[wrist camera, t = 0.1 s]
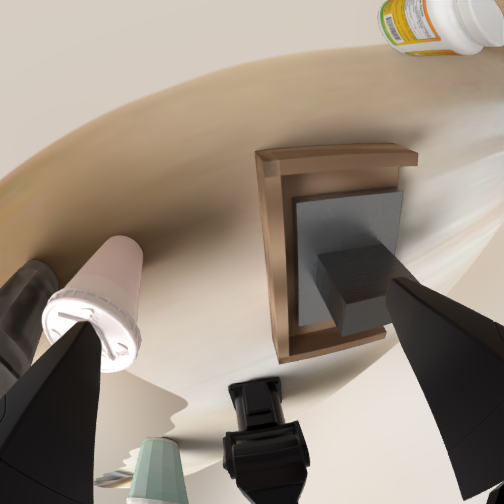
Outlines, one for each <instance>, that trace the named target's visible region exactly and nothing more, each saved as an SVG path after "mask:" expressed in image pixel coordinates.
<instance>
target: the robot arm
mask: <svg viewBox="0 0 504 504" xmlns="http://www.w3.org/2000/svg"><path fill="white" fill-rule="evenodd" d="M385 304H386V308H387V310H388V313H389V315H390V318H391V320H392V323H393V325H394V328H395V330H396V333H397V336H398V338H399V341H400V343H401V346H402V348H403V350H404V352H405V354H406V356H407V358H408V360H409V362H410V365H411V367H412V369H413V371H414V373H415V375H416V377H417V379H418V382H419V384H420V386H421V388H422V390H423V393H424V395H425V397H426V400H427V402H428V404H429V407H430V409H431V411H432V414H433V416H434V419H435V421H436V423H437V426H438V428H439V431H440V434H441V436H442V439H443V441H444V444H445V447H446V449H447V451H448V455H449V458H450V461H451V464H452V467H453V470H454V473H455V476H456V479H457V482H458V485H459V489H460V492H461V495H462V498H463V500H464V501H465V500H467V499H469V498H472V497H474V496H476V495H478V494H480V493H482V492H484V491H486V490H488V489H490V488H492V487H493V486H495V485H497V484H499V483H500V482H502V481H503V482H502V483H501V484H500V485H499V486H497V487H496V488H495V489H494V490H493V491H491V492H490V494H489V497H488V500H487V503H486V504H504V326H502V325H500V324H499V323H497V322H493V320H491V319H489V318H487V317H485V316H483V315H481V314H480V313H477V312H476V311H474V310H472V309H470V308H468V307H466V306H464V305H462V304H460V303H458V302H456V301H454V300H452V299H450V298H448V297H446V296H444V295H442V294H440V293H438V292H436V291H434V290H431V289H429V288H427V287H425V286H423V285H421V284H419V283H417V282H415V281H413V280H411V279H408V278H406V277H404V276H399V277H395V278H392V279H391V280H390V282H389V286H388V290H387V294H386V298H385ZM101 355H102V343H101V340H100V338H99V336H98V334H97V333H96V331H95V329H94V327H93V325H92V324H91V323H90V322H89V321H79V322H76V323H75V324H74V325H73V326H72V327H71V328H70V329H69V330H68V331H67V332H66V333H65V334H64V335H62V336H61V337H60V338H59V339H58V340H57V341H56V342H55V343H54V344H53V345H52V346H51V347H50V348H49V349H48V350H47V351H46V352H45V353H44V354H43V355H42V356H41V357H40V358H39V359H38V360H37V361H36V362H35V363H34V364H33V365H32V366H31V367H30V368H29V369H28V370H27V371H26V372H25V373H24V374H23V375H22V376H21V377H20V378H19V379H18V380H17V381H16V382H15V383H14V384H13V386H12V387H11V388H10V389H9V390H8V391H7V392H6V394H4V395H3V396H2V397H1V398H0V504H93V503H94V501H93V469H94V446H95V432H96V419H97V410H98V401H99V392H100V373H101ZM228 390H229V393H230V396H231V399H232V402H233V405H234V408H235V410H236V413H237V421H238V428H239V431H237V432H226V437H224V438H223V445H224V456H223V468H224V469H226V470H227V471H228V473H229V474H230V477H231V479H236V484H237V487H238V488H239V490H240V491H241V492H242V493H243V495H244V496H245V497H246V498H247V499H248V500H249V501H250V502H251V504H298V500H299V498H300V495H301V493H302V491H303V488H304V486H305V483H306V478H307V469H306V467H309V466H310V458H309V452H308V448H307V445H306V442H305V439H304V436H303V433H302V430H301V427H300V424H299V422H298V421H294V422H291V423H286V424H285V419H284V415H283V411H282V407H281V403H282V397H281V381H280V378H272V379H267V380H261V381H255V382H249V383H242V384H236V385H230V386H229V387H228Z"/></svg>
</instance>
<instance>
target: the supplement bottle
mask: <svg viewBox="0 0 504 504" xmlns="http://www.w3.org/2000/svg"><path fill="white" fill-rule="evenodd" d="M378 23H379V27H380V30H381V32H382V34H383V36H384V38H385V39H386V41H387V42H388V43H389V44H390V45H391V46H392V47H393V48H394V49H396V50H397V51H399V52H401V53H403V54H405V55H409V56H425V55H474V54H477V53H479V52H480V51H481V50H482V49H483V47H484V46H486V47H501V46H503V45H504V17H503V15H502V13H501V11H500V9H499V7H498V5H497V4H496V2H495V1H494V0H388V1H386V2H384V3H383V4H382V5H381V7H380V9H379V11H378Z"/></svg>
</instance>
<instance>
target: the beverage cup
mask: <svg viewBox="0 0 504 504" xmlns="http://www.w3.org/2000/svg"><path fill="white" fill-rule="evenodd" d="M58 291H59V283H58V279H57V277H56V275H55V273H54V272H53V271H52V270H51V268H50V267H49V266H47V265H46V264H45V263H43V262H41V261H38V260H31V261H28V262H27V263H26V264H25V265H24V266H23V267H22V268H20V269H19V270H18V271H17V272H16V273H15V274H14V275H13V276H12V277H11V278H10V279H9V280H8V281H7V282H6V283H5V284H4V285H3V286H2V287H1V288H0V398H1V397H2V396H3V395H4V394H6V392H7V391H8V390H9V389H10V388H11V387H12V386H13V384H14V383H15V382H16V381H17V380H18V379H19V378H20V377H21V376H22V375H23V374H24V373H25V372H26V371H27V370H28V369H29V368H30V367H31V364H32V361H33V357H34V354H35V351H36V348H37V345H38V343H39V340H40V337H41V334H42V332H43V326H42V314H43V311H44V309H45V307H46V306H47V303H48V300H49V299H50V298H51V296H52V295H53V294H54V293H56V292H58Z"/></svg>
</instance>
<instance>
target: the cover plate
mask: <svg viewBox="0 0 504 504" xmlns="http://www.w3.org/2000/svg"><path fill="white" fill-rule="evenodd" d="M402 196H403V191H401V190H399V189H398V188H396V187H386V188H375V189H364V190H353V191H344V192H334V193H325V194H316V195H308V196H299V197H292V208H293V230H294V258H295V307H296V320H297V323H298V326H304V325H309V324H314V323H318V322H323V321H328V320H332V319H333V320H334V322H335V324H336V327H337V329H338V331H339V333H340V335H341V337H343V336H347V335H351V334H355V333H359V332H362V331H366V330H370V329H373V328H377V327H380V326H384V325H387V324H390V323H392V320H391V318H390V315H389V313H388V310H387V308H386V304H385V298H386V294H387V290H388V286H389V282H390V280H391V279H392V278H395V277H399V276H404V277H406V278H408V279H411V280H413V281H415V282H417V283H419V282H418V281H417V279H416V278H415V277H414V276H413V275H412V274H411V273H410V272H409V271H408V270H407V269H406V267H405V266H404V265H403V264H402V263H401V262H400V261H399V260H398V259H397V258H396V257H395V256H394V255H395V249H396V243H397V236H398V229H399V222H400V214H401V206H402ZM419 284H420V283H419Z"/></svg>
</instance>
